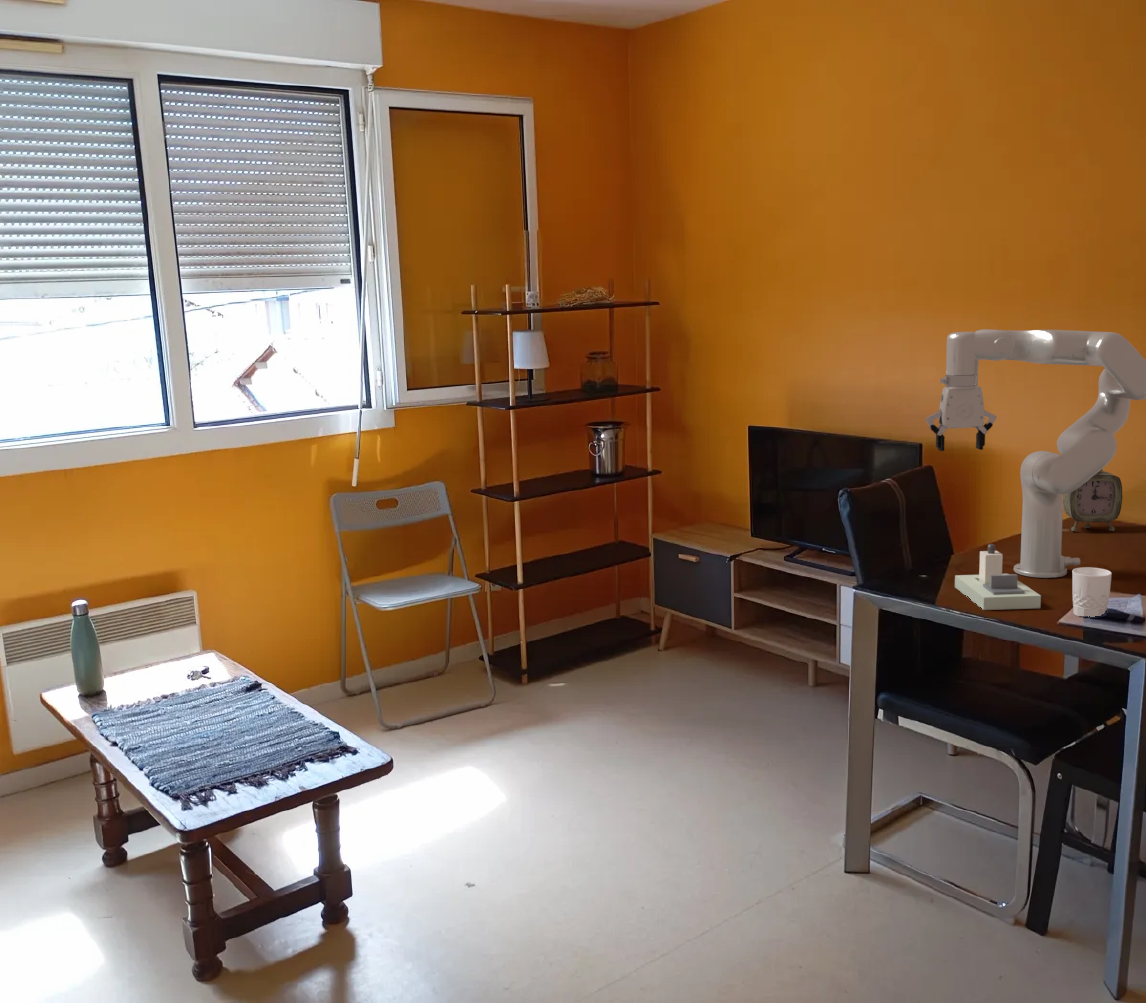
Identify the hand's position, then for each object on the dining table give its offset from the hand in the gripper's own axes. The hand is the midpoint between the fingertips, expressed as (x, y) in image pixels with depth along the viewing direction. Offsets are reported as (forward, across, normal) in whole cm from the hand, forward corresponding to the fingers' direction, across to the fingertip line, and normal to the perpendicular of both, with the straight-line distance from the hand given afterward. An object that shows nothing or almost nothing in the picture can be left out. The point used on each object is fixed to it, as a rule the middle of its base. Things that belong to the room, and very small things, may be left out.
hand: (960, 449), depth 263 cm
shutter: (+30, +3, -24) cm, 38 cm away
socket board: (+33, +3, -19) cm, 38 cm away
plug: (+33, +3, -15) cm, 37 cm away
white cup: (+34, +18, -35) cm, 52 cm away
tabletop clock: (+34, +55, +48) cm, 81 cm away
